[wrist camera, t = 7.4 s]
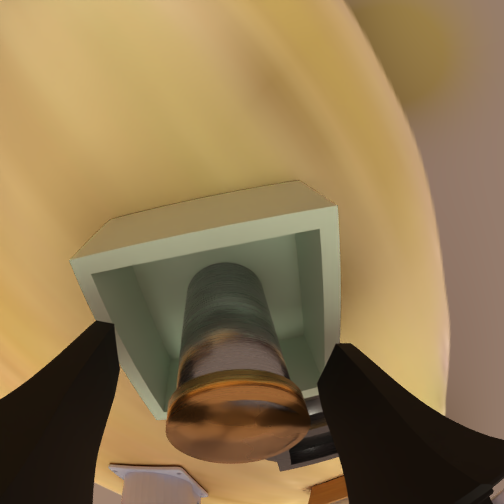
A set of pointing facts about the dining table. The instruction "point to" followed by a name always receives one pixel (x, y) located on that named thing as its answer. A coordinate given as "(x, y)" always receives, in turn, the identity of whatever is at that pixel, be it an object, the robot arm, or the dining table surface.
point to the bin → (207, 253)
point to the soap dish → (330, 492)
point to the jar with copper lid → (232, 374)
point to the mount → (310, 441)
